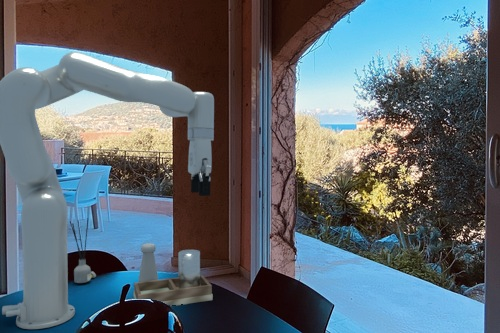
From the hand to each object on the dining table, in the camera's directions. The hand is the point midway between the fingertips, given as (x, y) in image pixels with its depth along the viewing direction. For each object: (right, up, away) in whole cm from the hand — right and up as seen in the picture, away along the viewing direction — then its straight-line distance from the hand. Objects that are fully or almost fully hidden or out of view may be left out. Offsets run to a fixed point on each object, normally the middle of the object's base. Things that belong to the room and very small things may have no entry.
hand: (200, 193), depth 109 cm
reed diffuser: (-38, -29, +8) cm, 49 cm away
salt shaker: (-16, -29, +4) cm, 33 cm away
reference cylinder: (-3, -27, -3) cm, 28 cm away
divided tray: (-7, -29, -5) cm, 30 cm away
